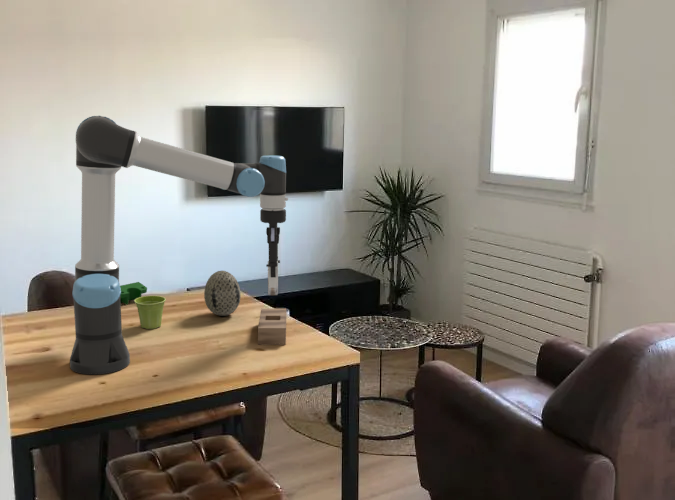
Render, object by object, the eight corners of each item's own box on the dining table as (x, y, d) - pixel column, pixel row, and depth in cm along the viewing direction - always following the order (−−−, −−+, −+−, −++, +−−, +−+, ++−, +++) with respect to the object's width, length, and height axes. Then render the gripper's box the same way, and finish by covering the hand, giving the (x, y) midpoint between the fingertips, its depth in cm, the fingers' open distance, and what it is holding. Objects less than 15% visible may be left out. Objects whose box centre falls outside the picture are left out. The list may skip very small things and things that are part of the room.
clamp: (123, 317, 249) (116, 297, 243) (113, 309, 252) (106, 290, 247) (151, 298, 256) (145, 279, 250) (141, 291, 259) (135, 272, 253)
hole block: (285, 344, 212) (285, 328, 211) (258, 344, 211) (258, 328, 210) (286, 323, 231) (286, 308, 230) (261, 323, 231) (261, 308, 230)
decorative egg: (230, 322, 231) (230, 276, 228) (198, 318, 235) (197, 273, 232) (246, 312, 242) (246, 268, 239) (214, 308, 246) (214, 265, 243)
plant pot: (168, 329, 223) (167, 302, 221) (137, 332, 220) (136, 304, 218) (164, 320, 232) (163, 294, 230) (133, 323, 228) (132, 296, 226)
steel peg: (277, 295, 217) (277, 262, 215) (267, 295, 217) (267, 262, 215) (277, 292, 220) (277, 260, 218) (268, 292, 220) (267, 260, 218)
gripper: (285, 212, 206) (285, 292, 211) (286, 204, 221) (286, 279, 226) (259, 212, 206) (259, 292, 210) (261, 204, 221) (261, 279, 225)
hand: (273, 285), depth 218 cm, fingers closed on steel peg, 2 cm apart
